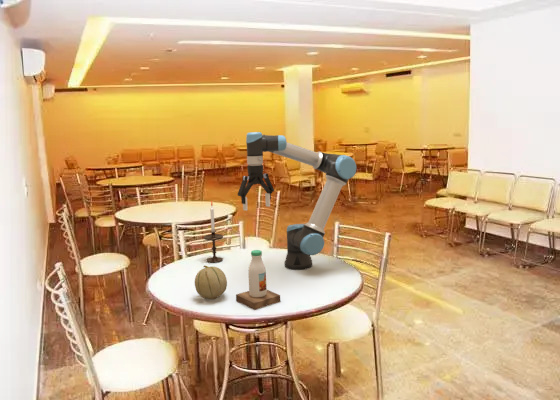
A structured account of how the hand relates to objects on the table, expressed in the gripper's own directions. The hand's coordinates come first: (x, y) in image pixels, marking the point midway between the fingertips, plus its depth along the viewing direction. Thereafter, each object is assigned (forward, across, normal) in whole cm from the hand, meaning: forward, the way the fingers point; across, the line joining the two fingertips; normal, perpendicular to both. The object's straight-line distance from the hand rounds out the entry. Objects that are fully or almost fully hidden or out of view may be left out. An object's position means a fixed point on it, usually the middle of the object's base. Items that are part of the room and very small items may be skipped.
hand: (256, 208), depth 240 cm
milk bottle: (+34, -17, -22) cm, 44 cm away
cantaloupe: (+37, -30, -4) cm, 48 cm away
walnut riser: (+37, -17, -22) cm, 46 cm away
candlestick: (+37, +2, +46) cm, 59 cm away
